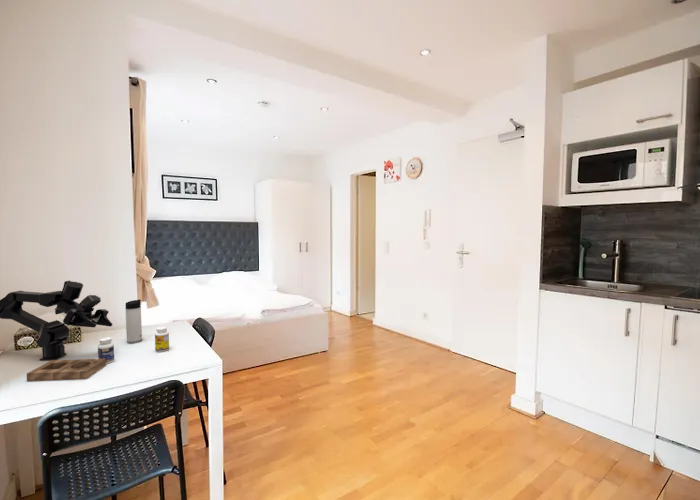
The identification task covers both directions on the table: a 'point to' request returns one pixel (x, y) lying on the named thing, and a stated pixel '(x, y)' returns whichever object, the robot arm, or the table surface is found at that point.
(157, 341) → the supplement bottle
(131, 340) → the travel mug
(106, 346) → the pill bottle
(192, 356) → the table surface
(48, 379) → the socket block
